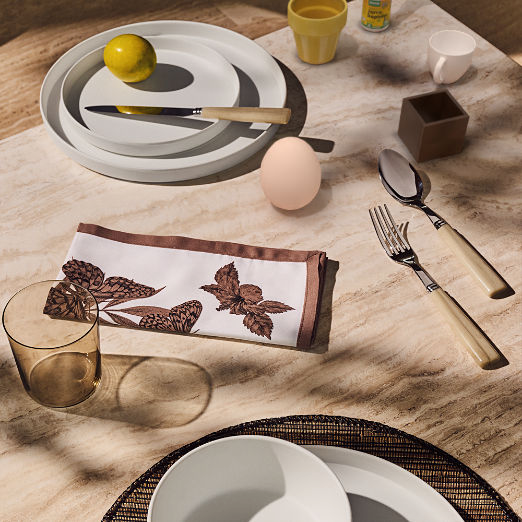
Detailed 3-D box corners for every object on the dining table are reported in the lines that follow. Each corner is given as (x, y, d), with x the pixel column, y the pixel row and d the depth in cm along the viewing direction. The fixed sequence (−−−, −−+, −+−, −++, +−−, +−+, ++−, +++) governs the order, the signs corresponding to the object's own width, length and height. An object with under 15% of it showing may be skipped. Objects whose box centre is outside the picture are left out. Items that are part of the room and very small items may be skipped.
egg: (294, 233, 96) (295, 172, 87) (248, 205, 100) (245, 145, 91) (331, 199, 100) (336, 138, 91) (286, 174, 104) (286, 113, 95)
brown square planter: (438, 124, 111) (446, 88, 105) (460, 152, 106) (470, 116, 101) (397, 134, 109) (402, 97, 104) (417, 163, 105) (424, 126, 99)
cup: (474, 71, 120) (483, 37, 115) (453, 101, 114) (461, 67, 109) (433, 59, 123) (439, 25, 117) (411, 88, 117) (416, 54, 112)
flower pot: (304, 33, 129) (305, -16, 122) (353, 47, 126) (357, -3, 118) (277, 61, 124) (277, 11, 116) (328, 76, 120) (331, 26, 113)
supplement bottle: (386, 17, 132) (392, -31, 125) (390, 32, 129) (397, -17, 122) (358, 18, 132) (362, -30, 125) (362, 33, 129) (367, -16, 122)
